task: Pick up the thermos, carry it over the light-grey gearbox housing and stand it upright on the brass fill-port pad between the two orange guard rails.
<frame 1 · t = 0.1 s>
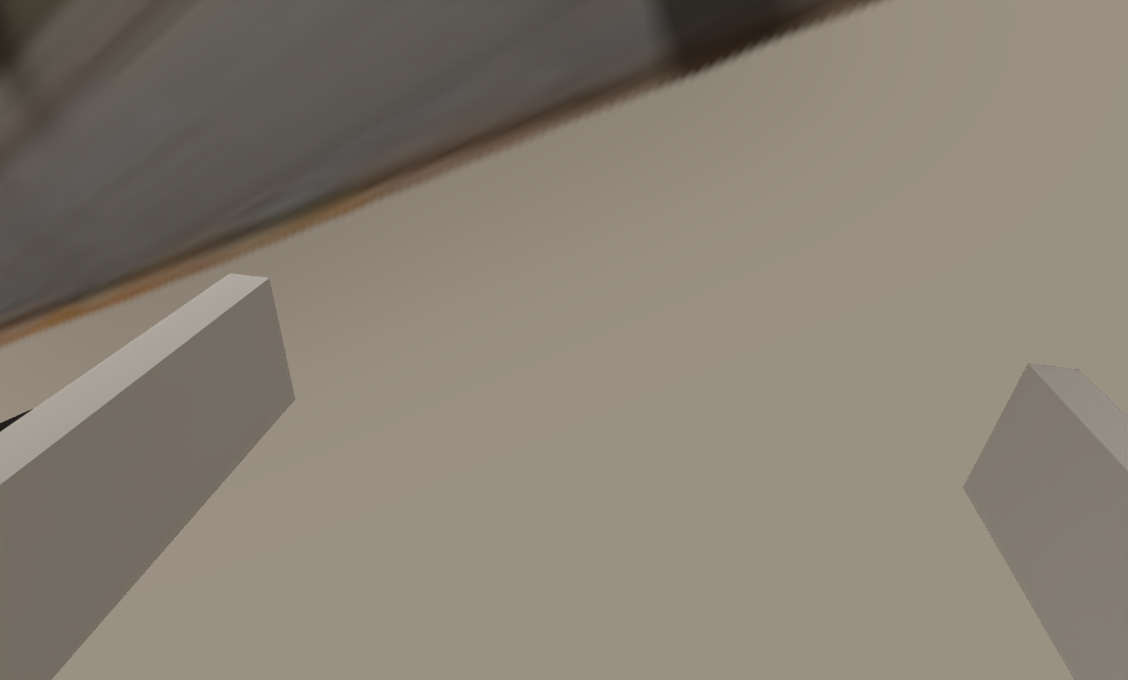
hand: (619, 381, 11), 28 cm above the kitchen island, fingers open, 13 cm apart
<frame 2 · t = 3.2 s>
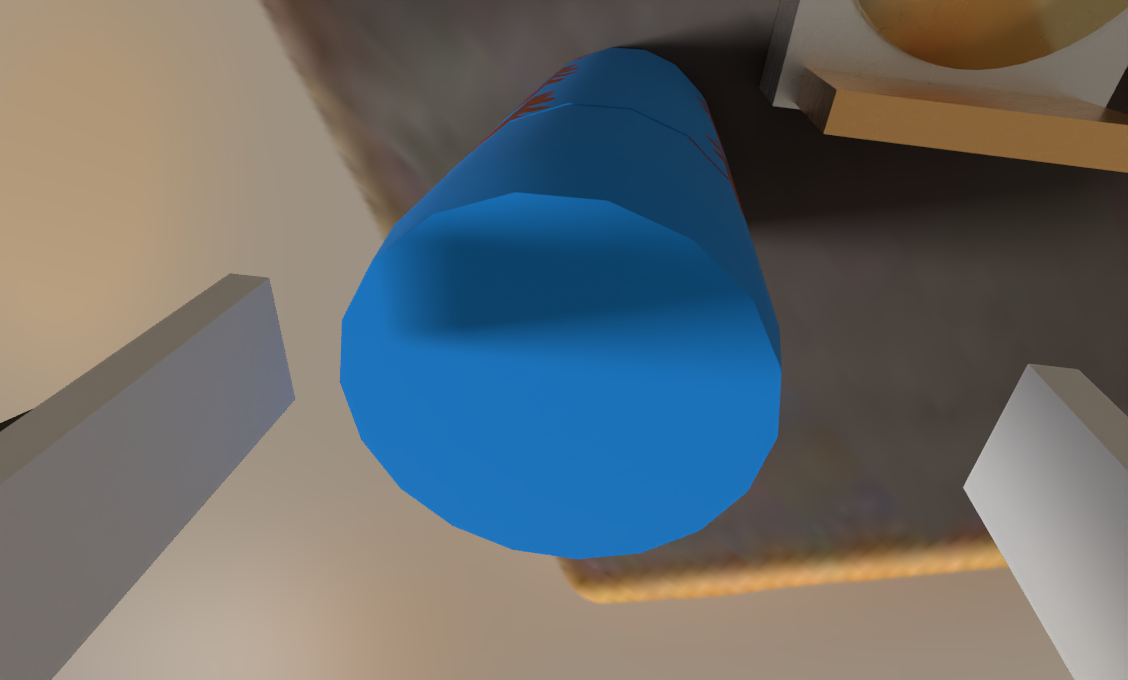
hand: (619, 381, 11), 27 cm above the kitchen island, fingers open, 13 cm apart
thermos: (619, 145, 36), on the kitchen island
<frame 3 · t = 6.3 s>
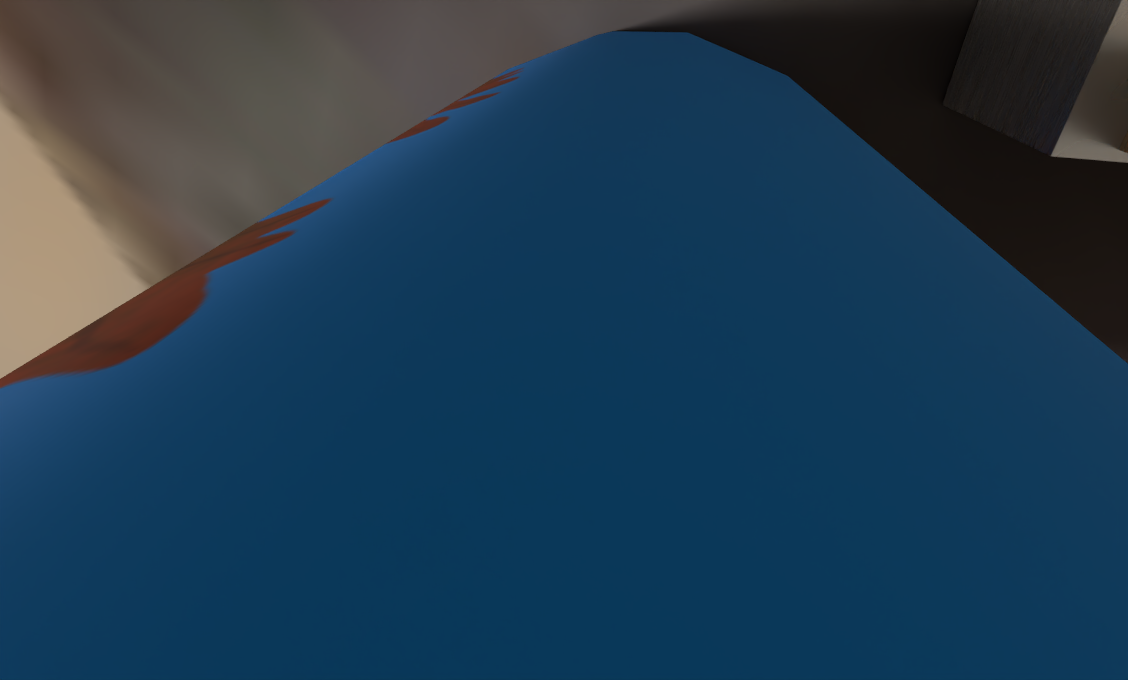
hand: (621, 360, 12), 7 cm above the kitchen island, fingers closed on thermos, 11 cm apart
thermos: (636, 228, 18), on the kitchen island, touching gripper
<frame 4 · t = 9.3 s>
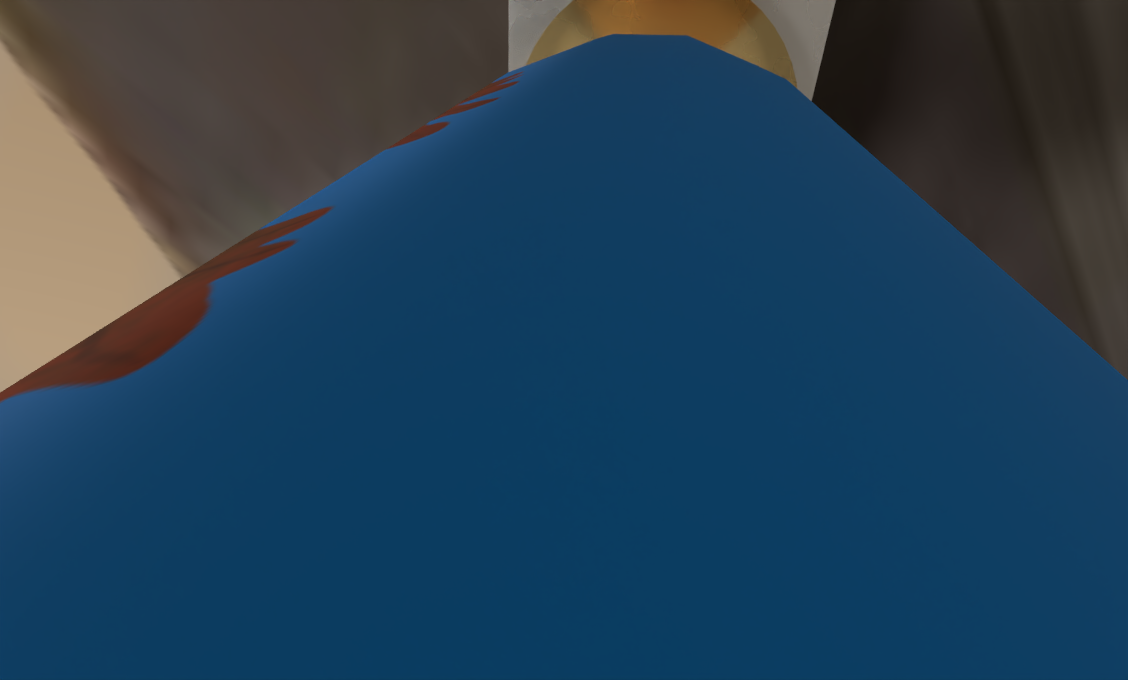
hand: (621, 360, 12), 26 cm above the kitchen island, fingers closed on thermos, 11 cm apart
thermos: (636, 230, 18), point 19 cm above the kitchen island, touching gripper
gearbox: (653, 107, 34), on the kitchen island
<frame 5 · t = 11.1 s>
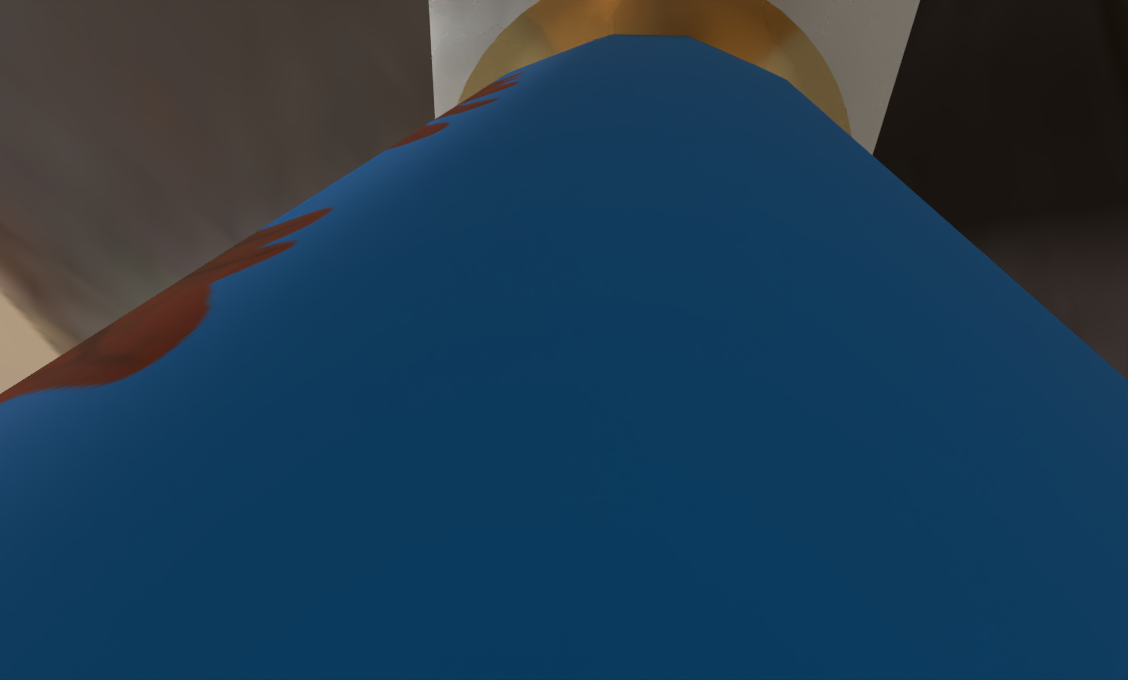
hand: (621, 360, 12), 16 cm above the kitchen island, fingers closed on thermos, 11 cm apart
thermos: (636, 230, 18), point 8 cm above the kitchen island, touching gripper
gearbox: (644, 154, 25), on the kitchen island
when the fingers open (14 cm above the kitchen island, at t = 12.4 s): thermos drops 2 cm, resting on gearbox.
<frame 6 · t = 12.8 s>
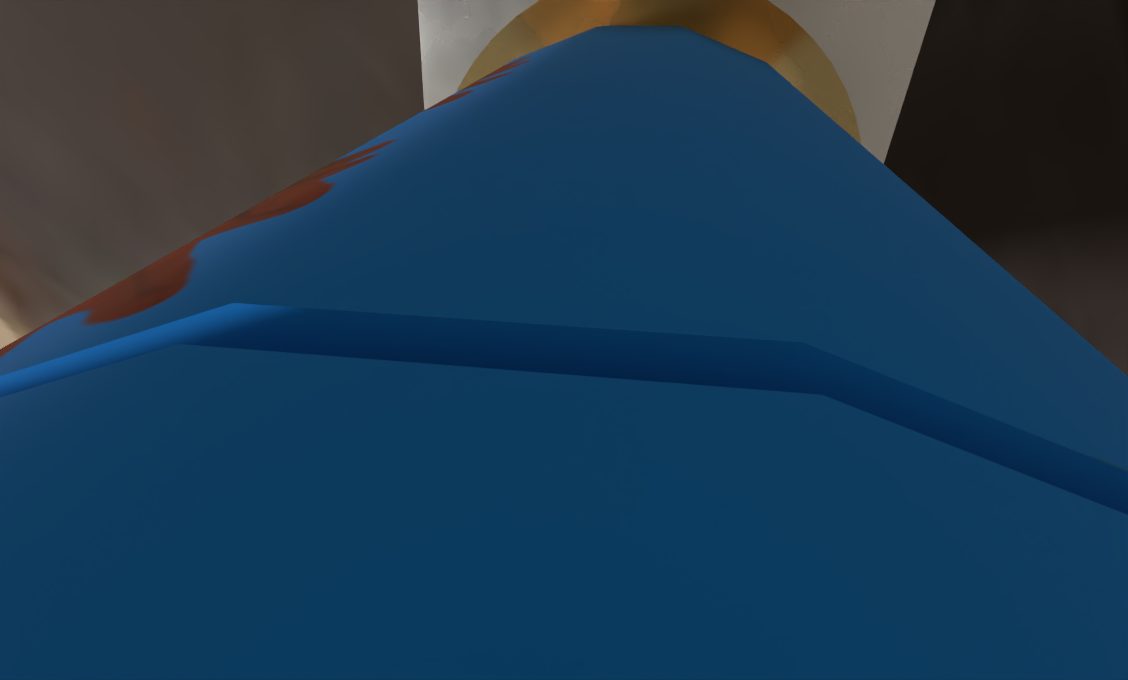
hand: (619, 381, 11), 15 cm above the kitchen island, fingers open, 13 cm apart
thermos: (634, 208, 19), point 6 cm above the kitchen island, touching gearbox
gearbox: (644, 162, 24), on the kitchen island
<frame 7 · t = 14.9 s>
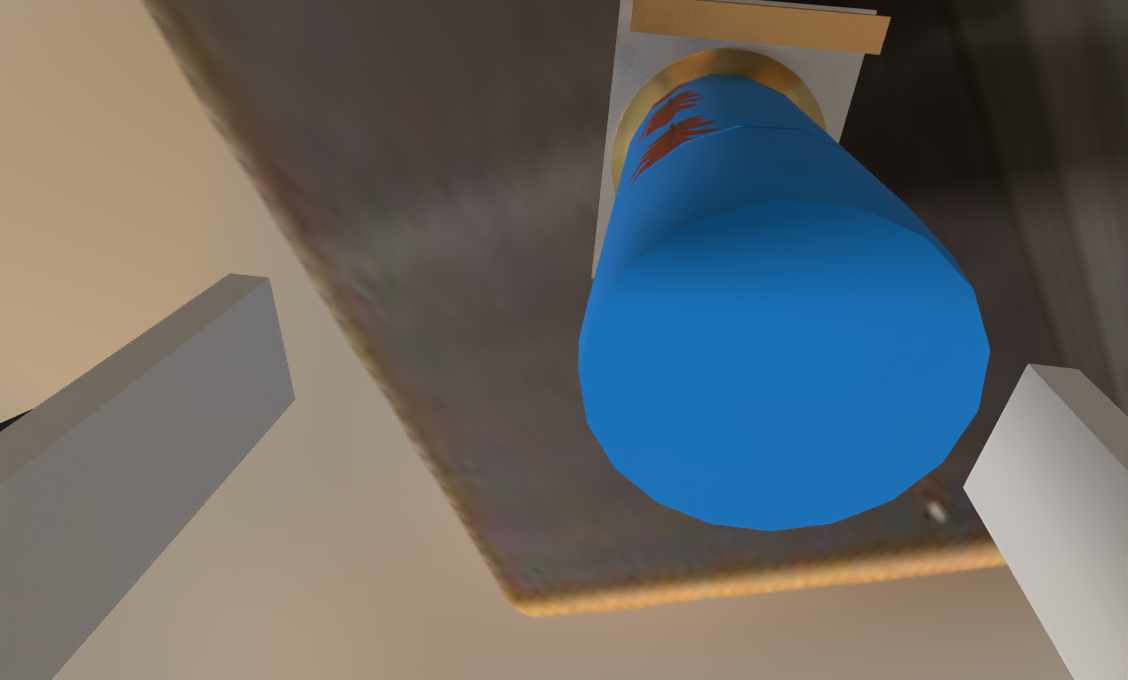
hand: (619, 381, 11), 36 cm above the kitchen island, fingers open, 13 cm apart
thermos: (713, 163, 38), point 6 cm above the kitchen island, touching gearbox
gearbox: (710, 145, 43), on the kitchen island
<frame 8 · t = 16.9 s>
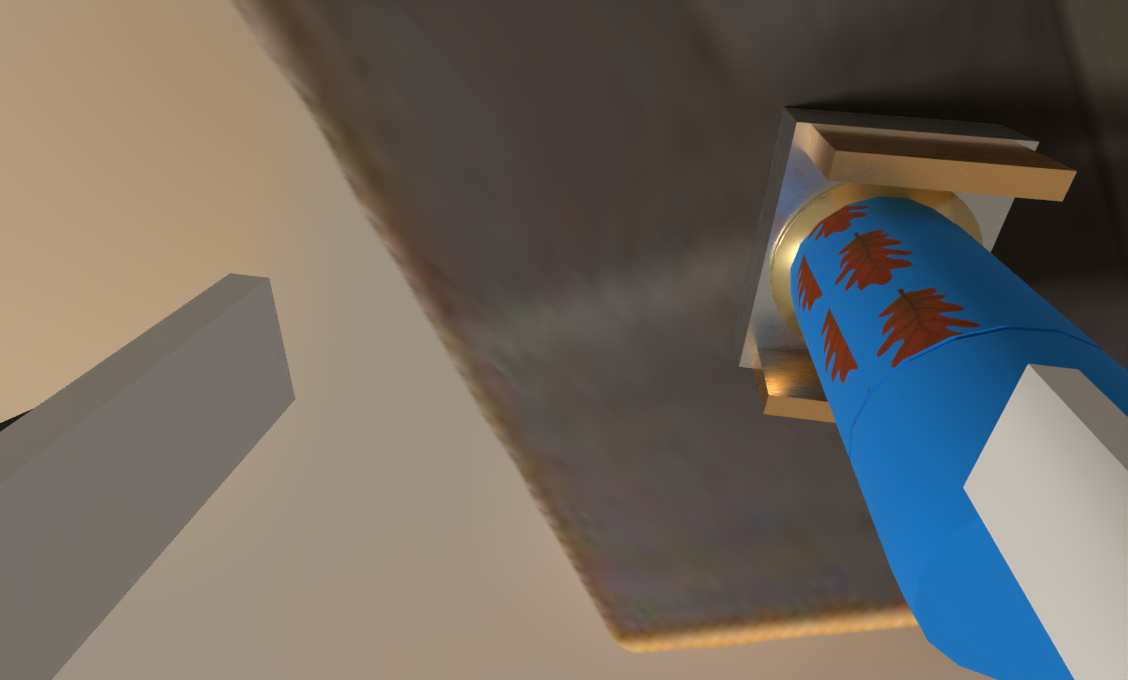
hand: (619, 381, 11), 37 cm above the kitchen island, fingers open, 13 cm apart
thermos: (870, 271, 41), point 6 cm above the kitchen island, touching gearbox
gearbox: (851, 241, 46), on the kitchen island
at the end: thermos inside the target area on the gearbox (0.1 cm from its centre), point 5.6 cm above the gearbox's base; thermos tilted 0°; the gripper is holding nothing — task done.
